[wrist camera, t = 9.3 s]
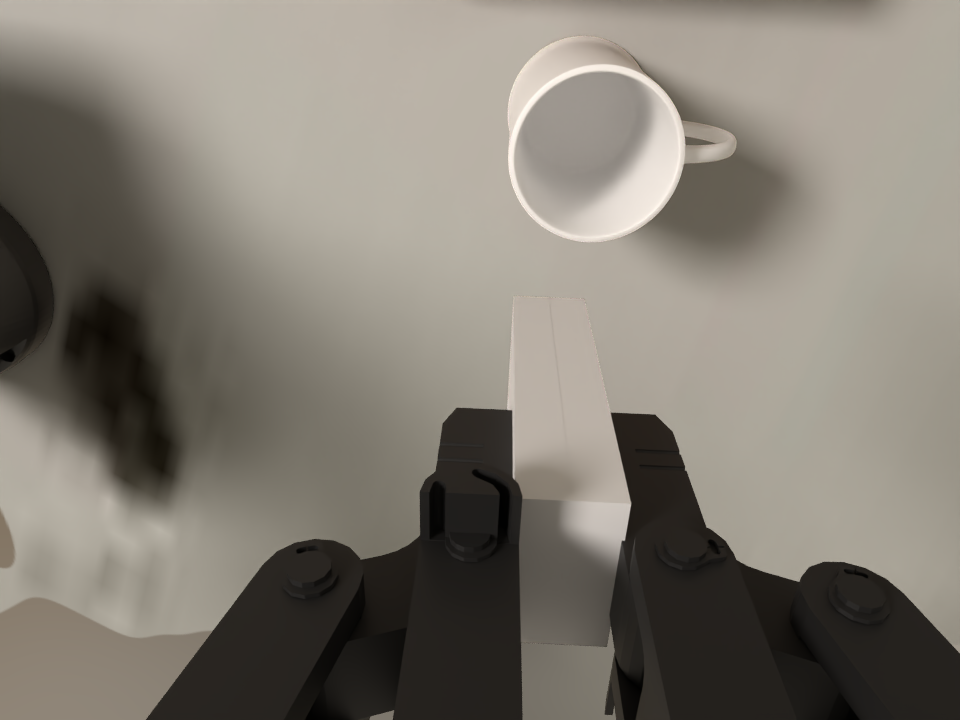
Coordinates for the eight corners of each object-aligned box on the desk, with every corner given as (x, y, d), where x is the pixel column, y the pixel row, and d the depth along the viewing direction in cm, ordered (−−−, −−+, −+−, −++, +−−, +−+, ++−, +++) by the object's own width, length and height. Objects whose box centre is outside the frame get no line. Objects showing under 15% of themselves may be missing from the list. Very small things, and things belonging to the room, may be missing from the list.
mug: (721, 54, 41) (790, 83, 30) (682, 199, 45) (731, 268, 34) (519, 25, 41) (517, 44, 30) (498, 173, 45) (491, 235, 34)
